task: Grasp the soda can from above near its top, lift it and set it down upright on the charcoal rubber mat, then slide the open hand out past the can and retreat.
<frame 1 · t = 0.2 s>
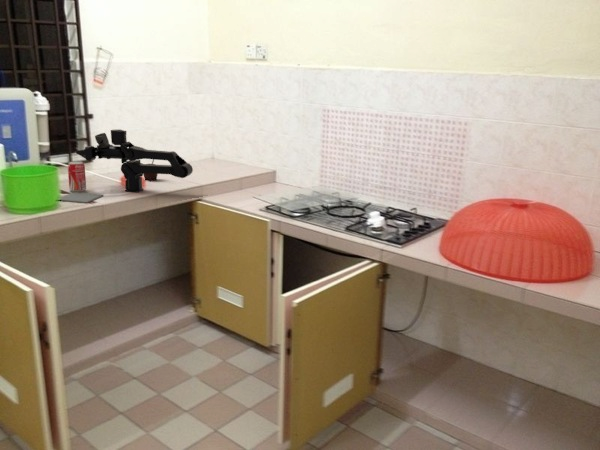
hand: (81, 150, 253), 17 cm above the table, tool horizontal, fingers open, 9 cm apart
charcoal mat: (80, 198, 236), on the table
soda can: (77, 191, 249), on the table
mate gourd: (151, 180, 277), on the table
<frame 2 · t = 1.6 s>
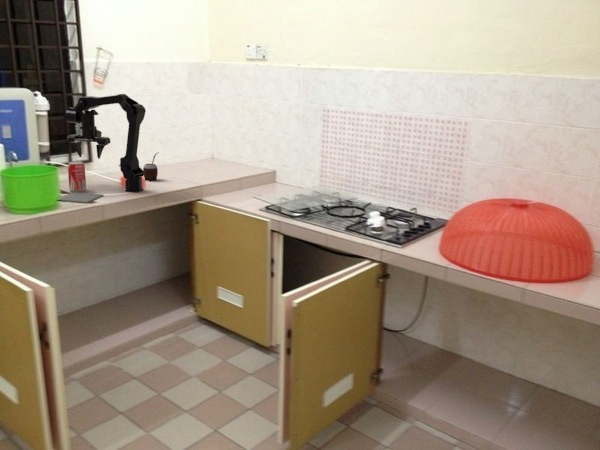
hand: (89, 157, 256), 13 cm above the table, tool pointing down, fingers open, 9 cm apart
nothing on the table moved.
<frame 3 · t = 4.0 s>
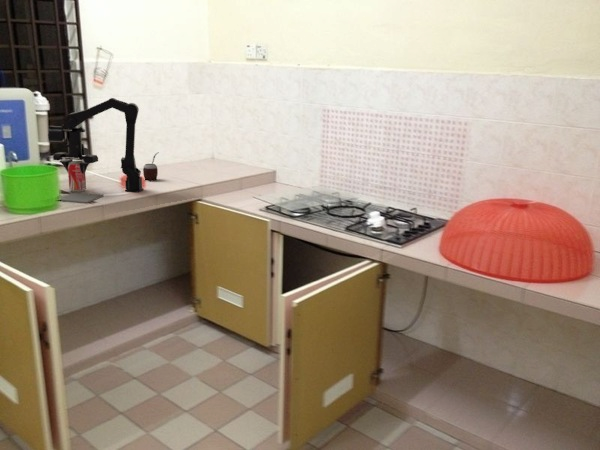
hand: (76, 176, 247), 7 cm above the table, tool pointing down, fingers closed on soda can, 5 cm apart
soda can: (77, 191, 249), on the table, touching gripper
everything else where it was.
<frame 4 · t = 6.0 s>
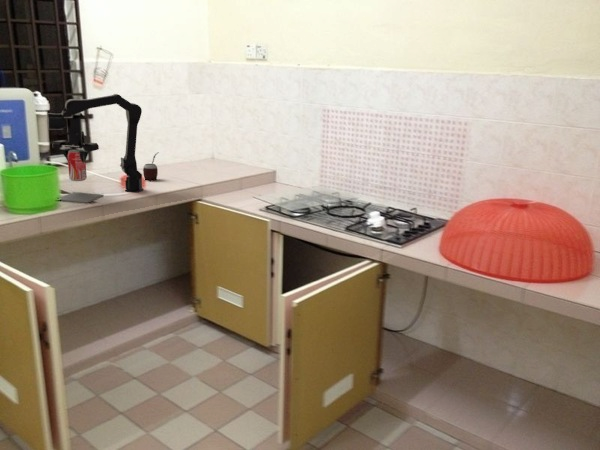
hand: (77, 165, 239), 13 cm above the table, tool pointing down, fingers closed on soda can, 5 cm apart
soda can: (78, 180, 241), point 6 cm above the table, touching gripper
everything else where it was.
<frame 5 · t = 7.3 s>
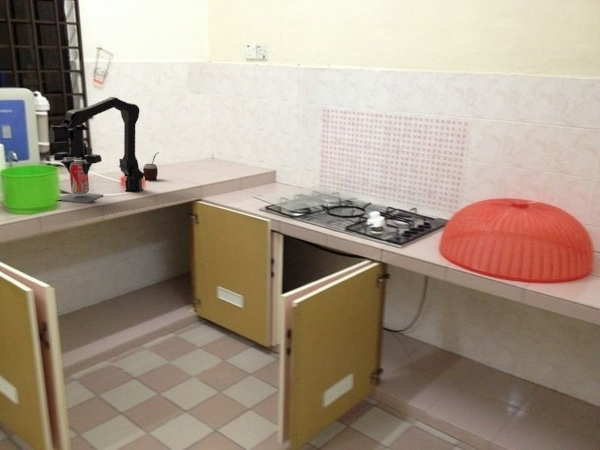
hand: (79, 177, 234), 9 cm above the table, tool pointing down, fingers closed on soda can, 5 cm apart
soda can: (80, 192, 236), point 2 cm above the table, touching gripper
everything else where it was.
when the fingers open (9 cm above the table, at t = 8.2 s): soda can drops 1 cm, resting on charcoal mat.
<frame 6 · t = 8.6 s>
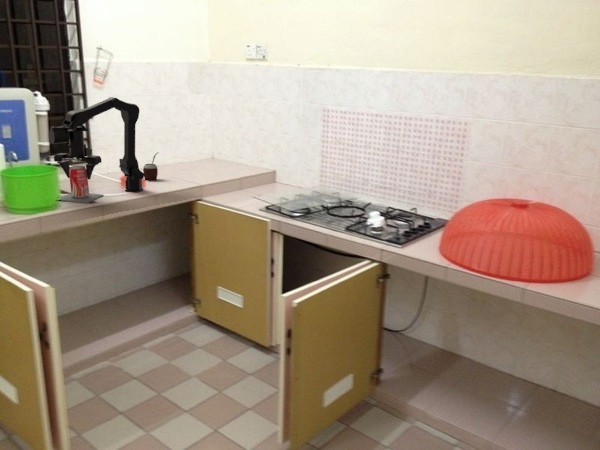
hand: (79, 178, 234), 9 cm above the table, tool pointing down, fingers open, 9 cm apart
soda can: (80, 197, 236), resting on charcoal mat
everything else where it was.
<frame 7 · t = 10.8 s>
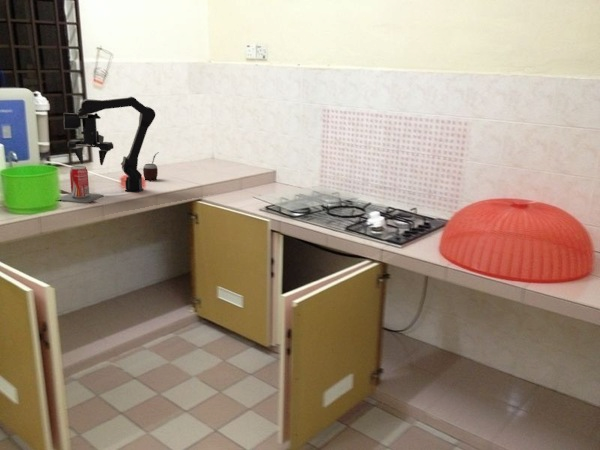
hand: (91, 164, 243), 13 cm above the table, tool pointing down, fingers open, 9 cm apart
nothing on the table moved.
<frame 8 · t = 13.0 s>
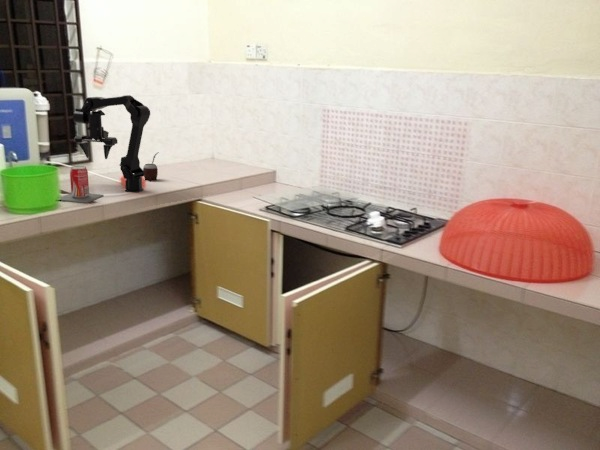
hand: (97, 158, 257), 13 cm above the table, tool pointing down, fingers open, 9 cm apart
nothing on the table moved.
at the end: soda can inside the target area on the charcoal mat (0.3 cm from its centre), point 0.4 cm above the charcoal mat's base; soda can tilted 0°; the gripper is holding nothing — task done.
